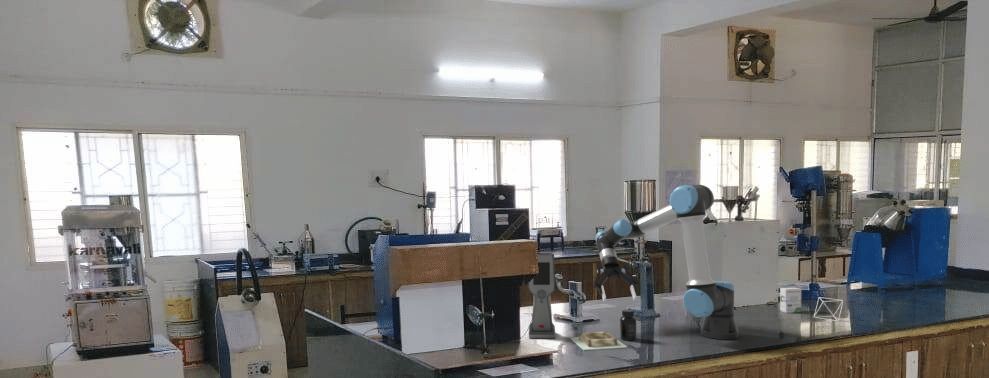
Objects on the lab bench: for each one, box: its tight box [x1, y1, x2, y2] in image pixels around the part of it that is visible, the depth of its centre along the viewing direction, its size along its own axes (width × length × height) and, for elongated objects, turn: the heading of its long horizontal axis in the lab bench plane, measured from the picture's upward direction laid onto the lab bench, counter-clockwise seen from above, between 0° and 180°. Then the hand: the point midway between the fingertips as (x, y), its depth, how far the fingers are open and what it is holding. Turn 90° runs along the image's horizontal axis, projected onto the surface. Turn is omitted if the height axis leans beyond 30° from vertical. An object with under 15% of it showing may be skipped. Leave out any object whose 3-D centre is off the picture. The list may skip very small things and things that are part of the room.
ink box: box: [779, 287, 802, 314], centre depth 296 cm, size 8×5×12 cm, turn 99°
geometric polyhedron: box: [813, 296, 844, 322], centre depth 282 cm, size 12×11×9 cm
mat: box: [569, 336, 628, 351], centre depth 243 cm, size 18×18×1 cm
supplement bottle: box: [619, 309, 638, 342], centre depth 249 cm, size 7×7×12 cm
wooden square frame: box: [578, 331, 618, 347], centre depth 243 cm, size 12×12×2 cm
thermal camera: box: [527, 252, 556, 340], centre depth 257 cm, size 12×13×35 cm
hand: (619, 299), depth 259 cm, fingers open, 13 cm apart
